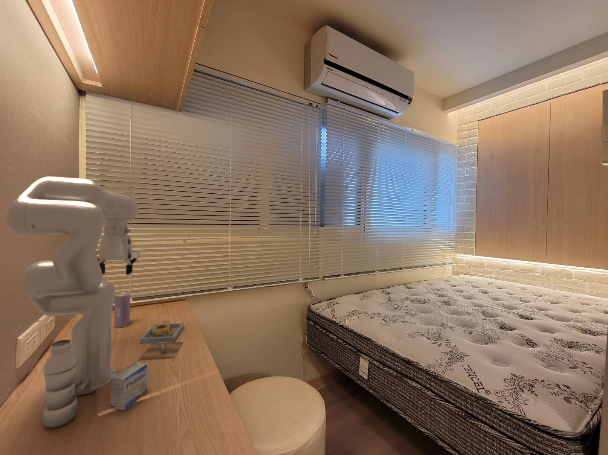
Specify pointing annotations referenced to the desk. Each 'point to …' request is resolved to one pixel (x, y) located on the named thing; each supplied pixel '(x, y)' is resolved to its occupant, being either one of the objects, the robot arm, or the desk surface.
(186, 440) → the desk surface
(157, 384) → the desk surface
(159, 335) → the ring
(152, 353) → the board
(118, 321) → the beverage can
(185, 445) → the desk surface
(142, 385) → the medicine box
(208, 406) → the desk surface
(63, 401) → the plastic bottle
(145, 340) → the tray
